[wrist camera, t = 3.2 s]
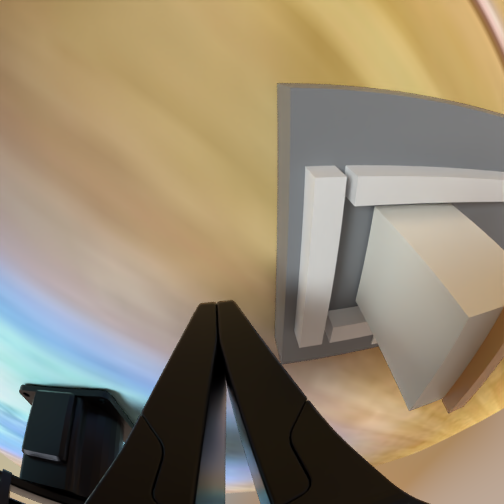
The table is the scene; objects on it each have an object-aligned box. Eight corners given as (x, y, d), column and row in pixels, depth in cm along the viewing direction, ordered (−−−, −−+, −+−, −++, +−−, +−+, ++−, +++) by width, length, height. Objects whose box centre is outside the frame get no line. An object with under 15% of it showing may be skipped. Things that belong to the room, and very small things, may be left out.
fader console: (541, 276, 15) (559, 296, 13) (274, 336, 13) (285, 380, 12) (585, 146, 10) (610, 161, 8) (277, 83, 8) (299, 90, 6)
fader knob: (423, 290, 11) (489, 393, 7) (354, 302, 11) (414, 427, 6) (451, 200, 9) (555, 300, 5) (375, 202, 8) (484, 332, 4)
